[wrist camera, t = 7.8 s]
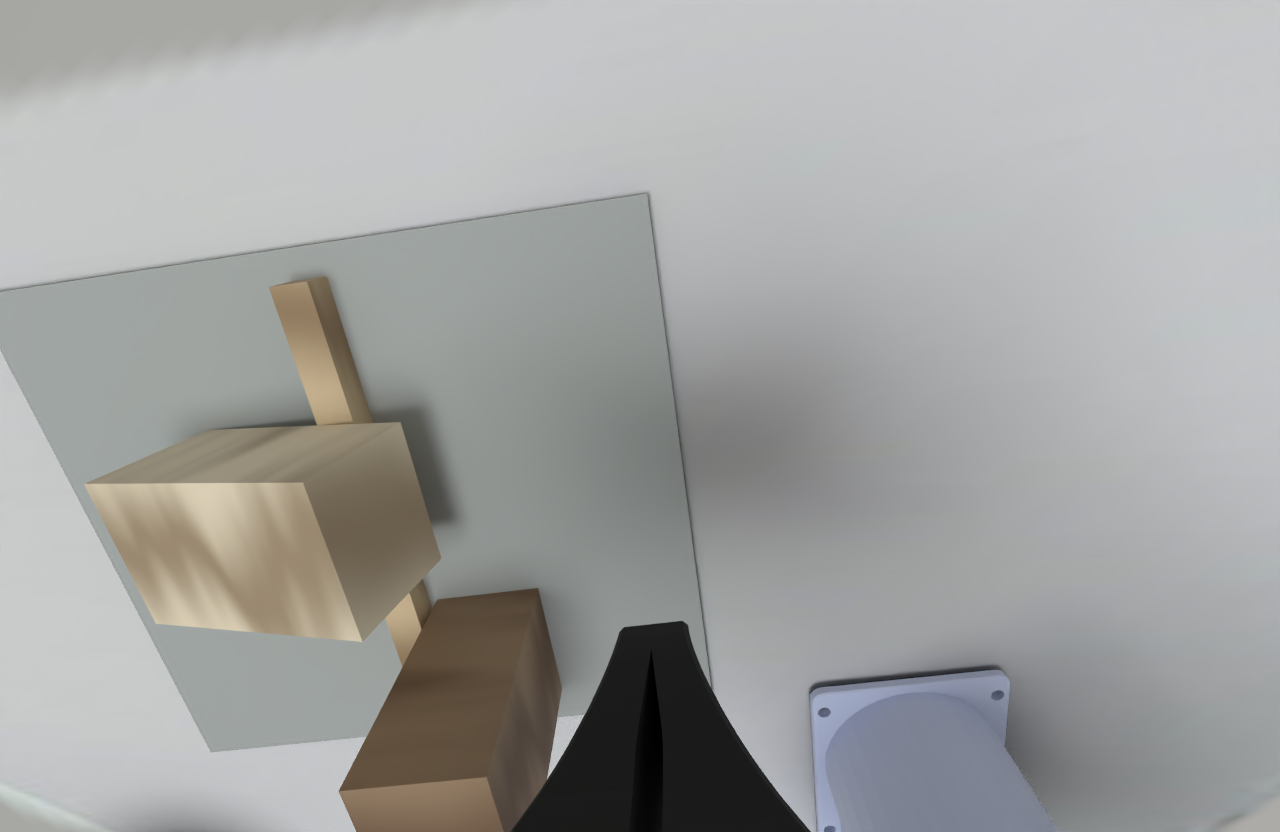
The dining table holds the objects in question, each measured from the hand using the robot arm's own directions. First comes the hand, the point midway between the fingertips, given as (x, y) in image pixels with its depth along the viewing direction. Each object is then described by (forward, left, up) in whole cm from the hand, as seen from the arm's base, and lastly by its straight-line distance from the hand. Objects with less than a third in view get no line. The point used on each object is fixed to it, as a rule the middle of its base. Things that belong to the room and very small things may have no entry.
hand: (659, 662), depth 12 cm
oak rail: (-1, +10, -10) cm, 14 cm away
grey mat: (-1, +10, -10) cm, 14 cm away
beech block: (+1, +8, -6) cm, 10 cm away
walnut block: (-7, +7, -10) cm, 14 cm away
